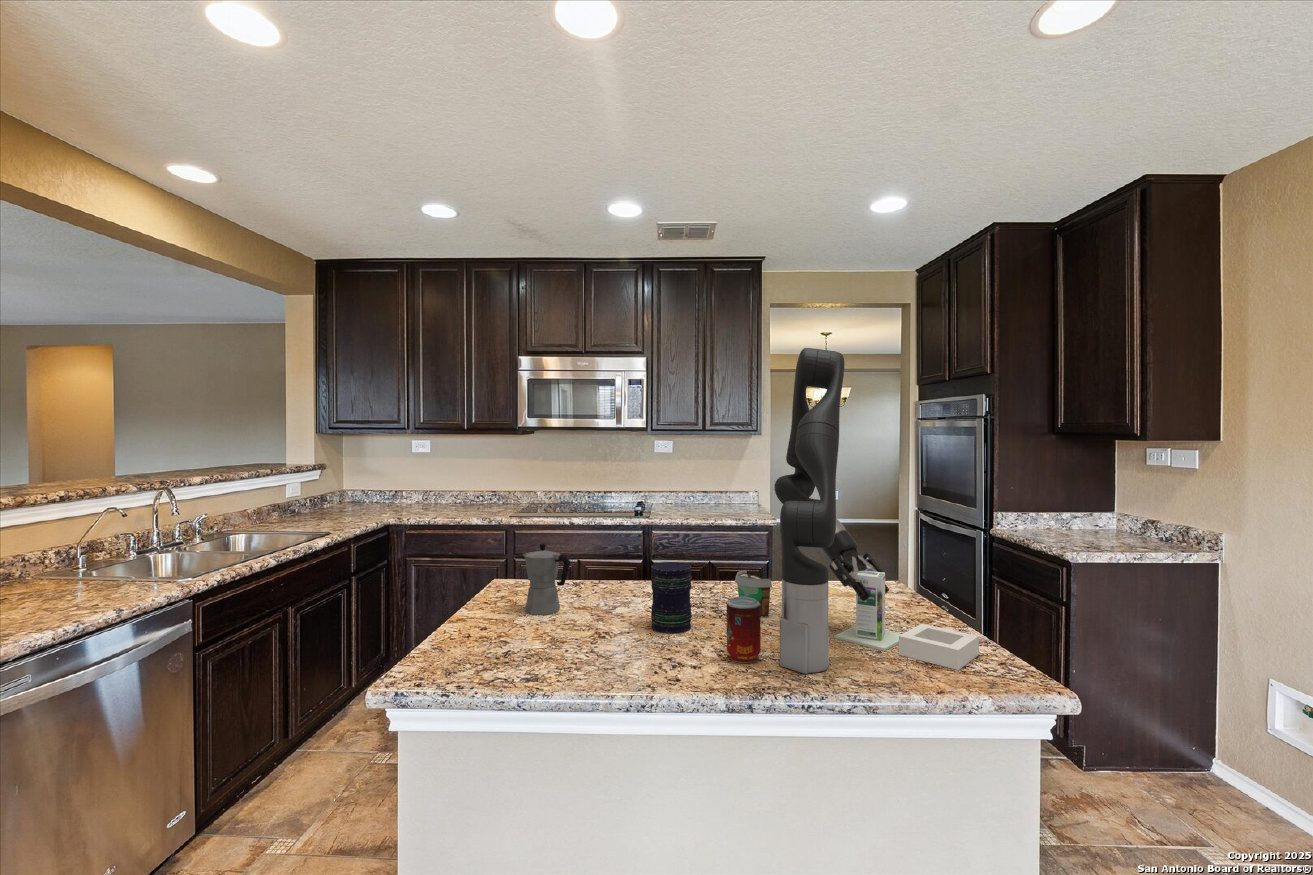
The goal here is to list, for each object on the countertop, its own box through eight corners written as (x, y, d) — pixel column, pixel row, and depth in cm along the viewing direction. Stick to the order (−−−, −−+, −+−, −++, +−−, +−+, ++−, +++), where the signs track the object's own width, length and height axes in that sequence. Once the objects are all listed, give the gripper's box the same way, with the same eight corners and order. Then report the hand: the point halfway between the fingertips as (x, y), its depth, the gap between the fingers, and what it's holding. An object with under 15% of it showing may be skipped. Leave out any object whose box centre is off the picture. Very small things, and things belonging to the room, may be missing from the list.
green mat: (885, 651, 130) (885, 648, 130) (834, 638, 139) (834, 635, 139) (908, 638, 139) (908, 635, 139) (859, 626, 147) (859, 624, 147)
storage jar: (675, 636, 140) (675, 572, 140) (642, 628, 146) (642, 567, 146) (699, 626, 148) (699, 565, 148) (667, 618, 154) (667, 560, 154)
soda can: (723, 652, 130) (723, 595, 130) (755, 651, 130) (755, 594, 130) (730, 665, 123) (730, 604, 123) (764, 664, 123) (764, 604, 123)
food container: (726, 608, 163) (726, 571, 163) (745, 605, 166) (745, 569, 166) (751, 621, 152) (751, 581, 152) (772, 617, 155) (771, 578, 155)
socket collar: (958, 670, 120) (958, 649, 120) (898, 654, 128) (898, 635, 128) (978, 654, 128) (978, 635, 128) (921, 641, 137) (921, 623, 137)
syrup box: (855, 637, 138) (855, 573, 138) (859, 629, 143) (860, 568, 143) (881, 641, 135) (882, 576, 135) (885, 633, 140) (885, 571, 140)
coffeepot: (511, 612, 160) (511, 544, 160) (534, 603, 169) (534, 539, 169) (558, 620, 153) (558, 549, 153) (580, 610, 162) (580, 543, 161)
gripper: (825, 531, 140) (870, 591, 131) (859, 526, 149) (904, 581, 140) (806, 551, 144) (848, 610, 135) (840, 544, 153) (882, 599, 144)
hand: (876, 595), depth 138 cm, fingers open, 7 cm apart
